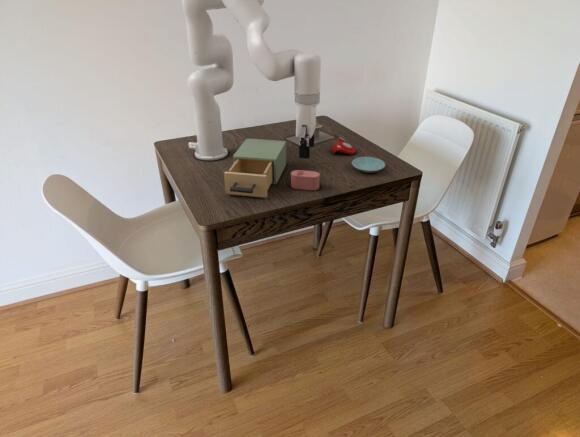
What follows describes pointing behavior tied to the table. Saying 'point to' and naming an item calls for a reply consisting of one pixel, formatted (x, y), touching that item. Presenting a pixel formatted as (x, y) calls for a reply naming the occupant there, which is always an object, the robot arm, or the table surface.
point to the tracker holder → (343, 147)
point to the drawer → (249, 177)
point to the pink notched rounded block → (305, 180)
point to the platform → (318, 136)
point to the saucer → (368, 164)
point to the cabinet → (264, 153)
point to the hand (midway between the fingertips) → (306, 152)
